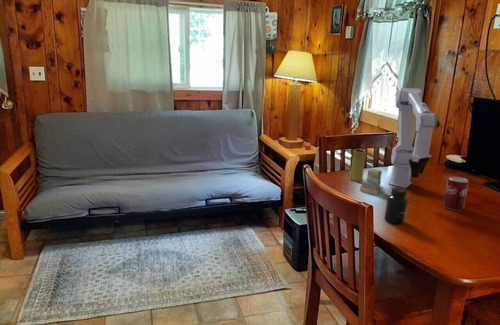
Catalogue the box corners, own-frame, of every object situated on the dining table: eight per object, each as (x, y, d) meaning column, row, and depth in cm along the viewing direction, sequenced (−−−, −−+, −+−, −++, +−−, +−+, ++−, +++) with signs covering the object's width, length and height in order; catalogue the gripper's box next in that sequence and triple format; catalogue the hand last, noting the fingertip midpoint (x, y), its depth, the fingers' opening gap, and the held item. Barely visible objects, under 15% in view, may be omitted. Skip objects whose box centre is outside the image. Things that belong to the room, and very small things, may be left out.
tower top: (366, 183, 170) (367, 178, 169) (379, 186, 166) (380, 181, 166) (361, 186, 165) (362, 181, 165) (374, 190, 162) (375, 184, 161)
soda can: (461, 205, 154) (467, 177, 150) (464, 212, 147) (470, 183, 143) (441, 203, 156) (446, 175, 152) (443, 209, 149) (449, 180, 146)
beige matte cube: (370, 179, 168) (371, 168, 167) (380, 181, 166) (381, 170, 164) (366, 181, 165) (368, 170, 163) (376, 183, 162) (378, 172, 161)
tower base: (365, 187, 172) (366, 182, 171) (382, 191, 168) (383, 186, 167) (359, 192, 166) (360, 186, 165) (376, 196, 162) (377, 191, 161)
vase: (362, 182, 177) (366, 152, 173) (349, 180, 178) (353, 151, 174) (361, 178, 183) (365, 149, 179) (348, 176, 184) (352, 148, 180)
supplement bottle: (402, 226, 133) (407, 194, 129) (382, 221, 136) (386, 190, 133) (405, 220, 138) (411, 189, 135) (386, 215, 142) (391, 185, 138)
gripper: (428, 147, 144) (422, 181, 148) (437, 141, 156) (431, 173, 159) (409, 144, 149) (404, 177, 152) (419, 138, 160) (414, 169, 164)
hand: (416, 175), depth 156 cm, fingers open, 7 cm apart
